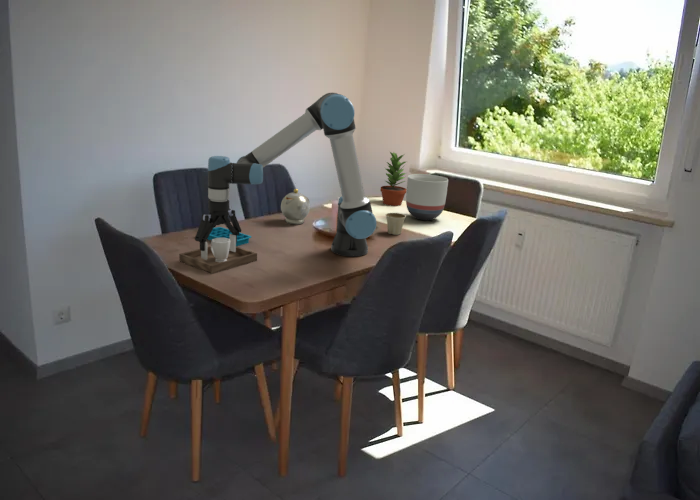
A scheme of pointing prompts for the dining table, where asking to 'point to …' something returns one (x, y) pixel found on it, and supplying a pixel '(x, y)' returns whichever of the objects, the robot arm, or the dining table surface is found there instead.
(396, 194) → the potted plant
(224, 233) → the ice cube tray
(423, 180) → the planter
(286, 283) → the dining table surface
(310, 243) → the dining table surface
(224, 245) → the cup
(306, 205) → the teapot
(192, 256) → the tray
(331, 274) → the dining table surface
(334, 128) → the robot arm
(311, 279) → the dining table surface
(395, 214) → the flower pot
